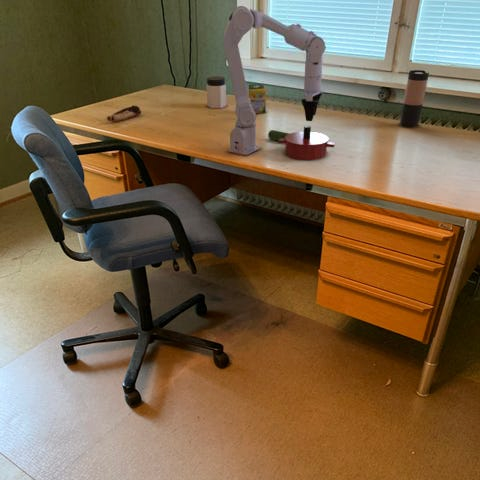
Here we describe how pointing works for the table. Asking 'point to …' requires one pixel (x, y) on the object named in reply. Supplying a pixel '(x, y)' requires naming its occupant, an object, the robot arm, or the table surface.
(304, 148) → the pot
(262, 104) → the crayon box
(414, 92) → the travel mug
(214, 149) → the table surface
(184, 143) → the table surface
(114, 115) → the lashed bone hook
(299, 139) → the lid
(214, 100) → the jar
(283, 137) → the cucumber
